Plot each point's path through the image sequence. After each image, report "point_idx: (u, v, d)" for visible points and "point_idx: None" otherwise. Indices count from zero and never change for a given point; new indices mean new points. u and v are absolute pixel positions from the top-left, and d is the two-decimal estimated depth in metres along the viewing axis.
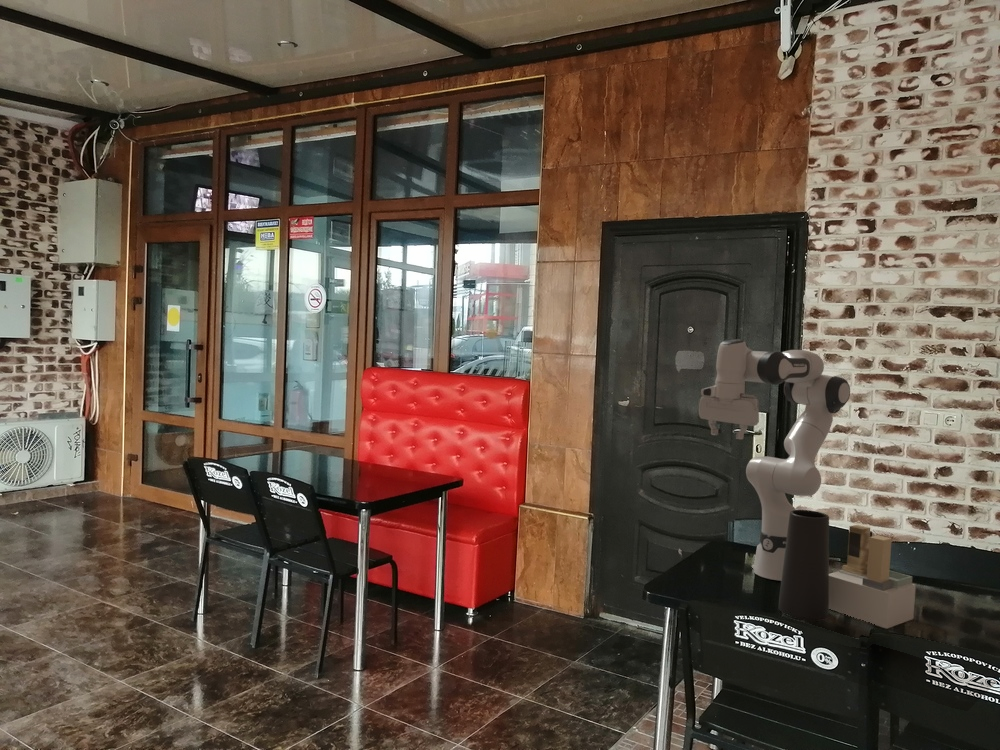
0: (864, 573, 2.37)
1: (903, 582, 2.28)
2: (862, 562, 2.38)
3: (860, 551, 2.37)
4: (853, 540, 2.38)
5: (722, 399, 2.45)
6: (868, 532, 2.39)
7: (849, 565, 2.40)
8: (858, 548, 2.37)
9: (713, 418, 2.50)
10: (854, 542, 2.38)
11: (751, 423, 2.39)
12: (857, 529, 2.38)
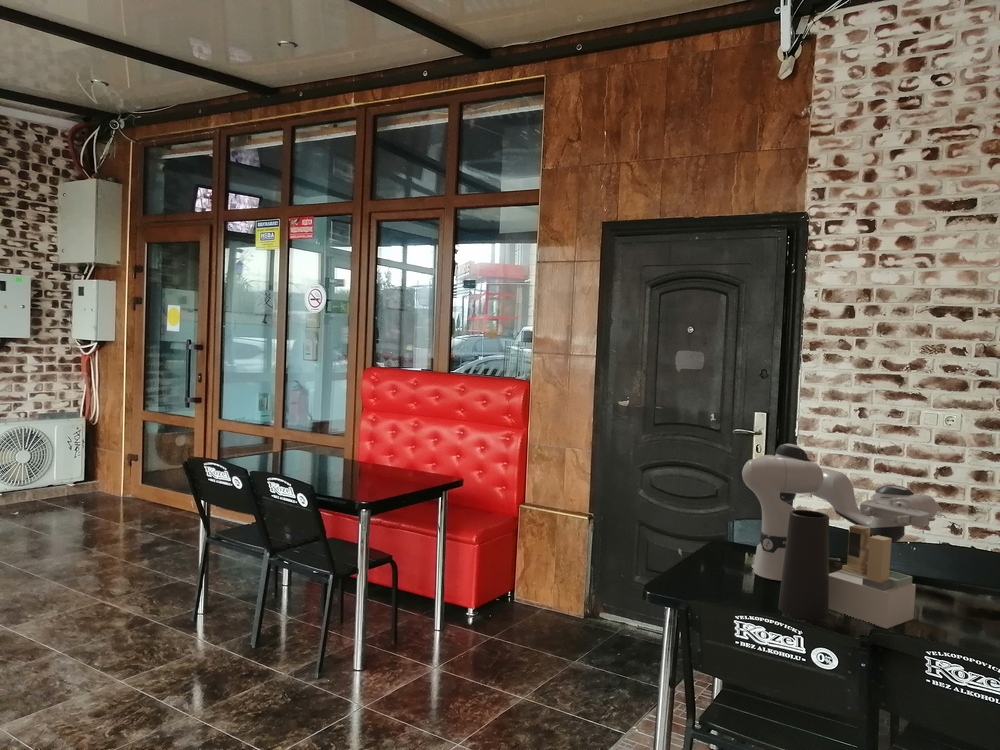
0: (864, 573, 2.37)
1: (903, 582, 2.28)
2: (862, 562, 2.38)
3: (860, 551, 2.37)
4: (853, 540, 2.38)
5: (901, 502, 2.53)
6: (868, 532, 2.39)
7: (849, 565, 2.40)
8: (858, 548, 2.37)
9: (878, 506, 2.53)
10: (854, 542, 2.38)
11: (922, 516, 2.42)
12: (857, 529, 2.38)
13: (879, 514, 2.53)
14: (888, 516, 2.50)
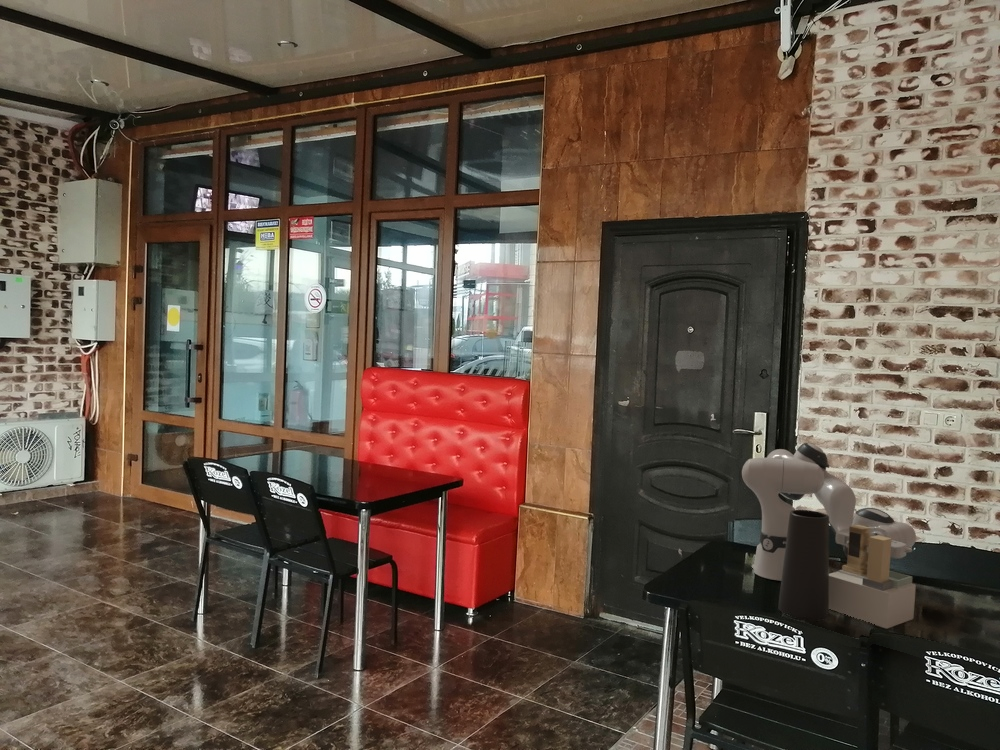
0: (864, 573, 2.37)
1: (903, 582, 2.28)
2: (862, 562, 2.38)
3: (860, 551, 2.37)
4: (853, 540, 2.38)
5: (877, 532, 2.46)
6: (868, 532, 2.39)
7: (849, 565, 2.40)
8: (858, 548, 2.37)
9: None
10: (854, 542, 2.38)
11: (898, 547, 2.35)
12: (857, 529, 2.38)
13: None
14: None
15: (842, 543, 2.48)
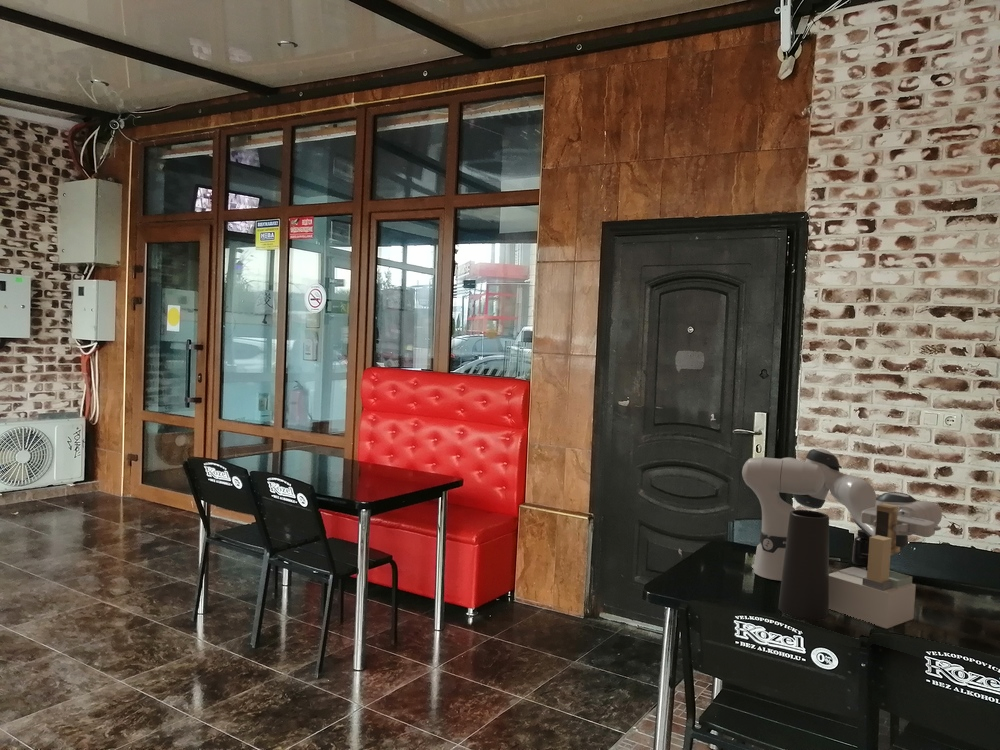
0: (892, 552, 2.32)
1: (903, 582, 2.28)
2: None
3: (888, 530, 2.32)
4: (881, 519, 2.33)
5: (904, 510, 2.41)
6: (896, 511, 2.33)
7: None
8: (886, 527, 2.32)
9: None
10: (882, 521, 2.33)
11: (928, 526, 2.29)
12: (885, 508, 2.32)
13: None
14: None
15: (868, 523, 2.43)
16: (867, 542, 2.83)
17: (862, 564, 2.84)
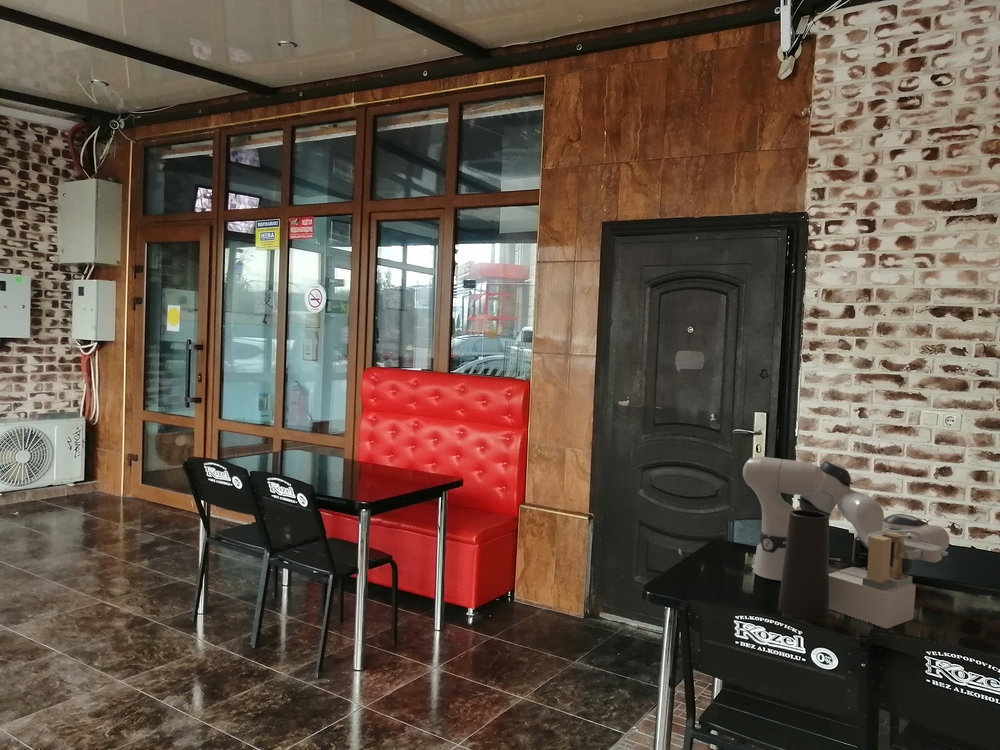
0: None
1: (903, 582, 2.28)
2: (896, 571, 2.30)
3: (894, 560, 2.29)
4: None
5: (911, 535, 2.38)
6: (902, 540, 2.31)
7: None
8: (891, 557, 2.29)
9: None
10: None
11: (934, 551, 2.27)
12: (890, 537, 2.30)
13: None
14: None
15: None
16: None
17: (862, 564, 2.84)
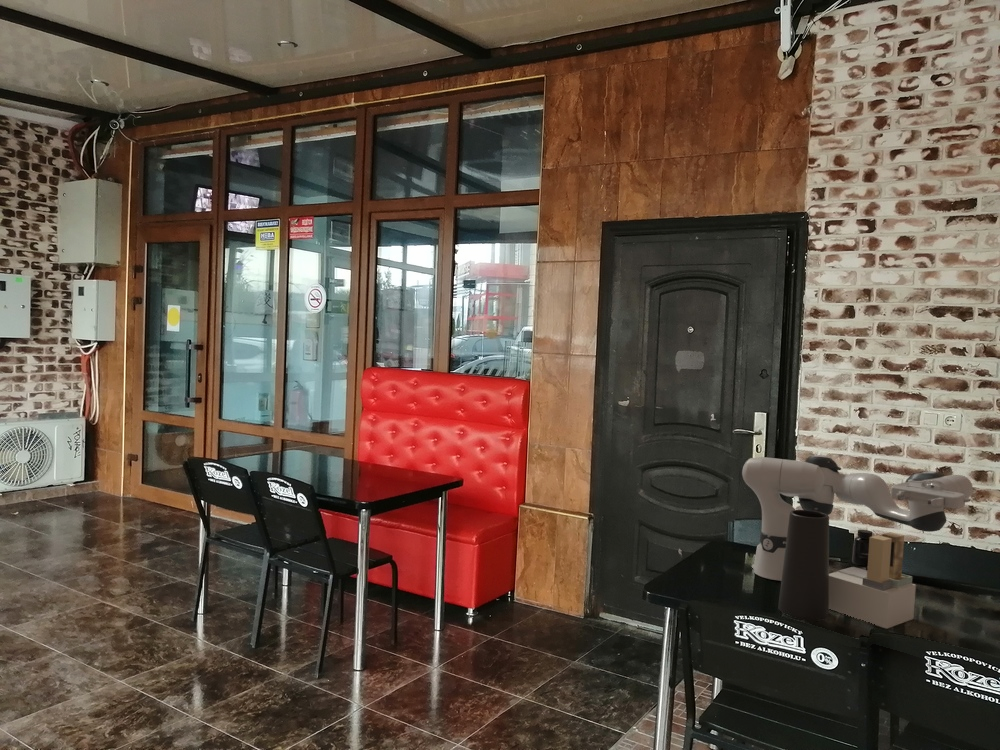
0: None
1: (903, 582, 2.28)
2: (896, 571, 2.30)
3: (894, 560, 2.29)
4: None
5: (933, 484, 2.44)
6: (902, 540, 2.31)
7: None
8: (891, 557, 2.29)
9: (909, 489, 2.44)
10: None
11: (957, 497, 2.33)
12: (890, 537, 2.30)
13: (911, 497, 2.44)
14: (921, 499, 2.41)
15: None
16: (867, 542, 2.83)
17: (862, 564, 2.84)
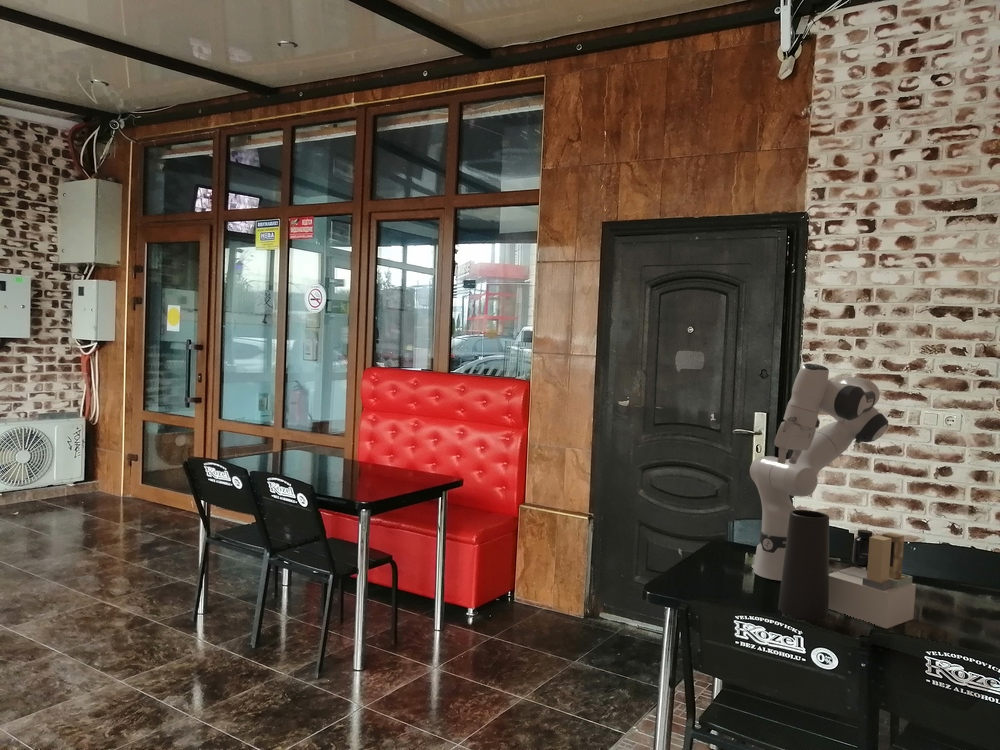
0: None
1: (903, 582, 2.28)
2: (896, 571, 2.30)
3: (894, 560, 2.29)
4: None
5: None
6: (902, 540, 2.31)
7: None
8: (891, 557, 2.29)
9: None
10: None
11: (774, 443, 2.28)
12: (890, 537, 2.30)
13: None
14: None
15: None
16: (867, 542, 2.83)
17: (862, 564, 2.84)
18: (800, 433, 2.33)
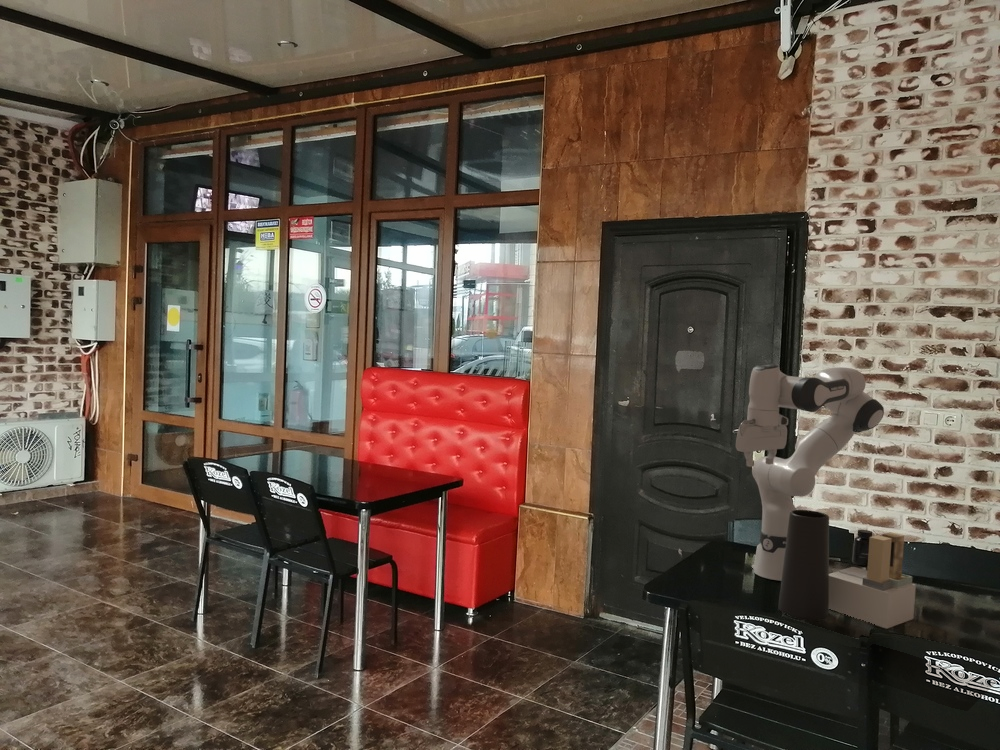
0: None
1: (903, 582, 2.28)
2: (896, 571, 2.30)
3: (894, 560, 2.29)
4: None
5: None
6: (902, 540, 2.31)
7: None
8: (891, 557, 2.29)
9: None
10: None
11: (736, 448, 2.34)
12: (890, 537, 2.30)
13: None
14: None
15: (778, 448, 2.42)
16: (867, 542, 2.83)
17: (862, 564, 2.84)
18: (765, 433, 2.37)
